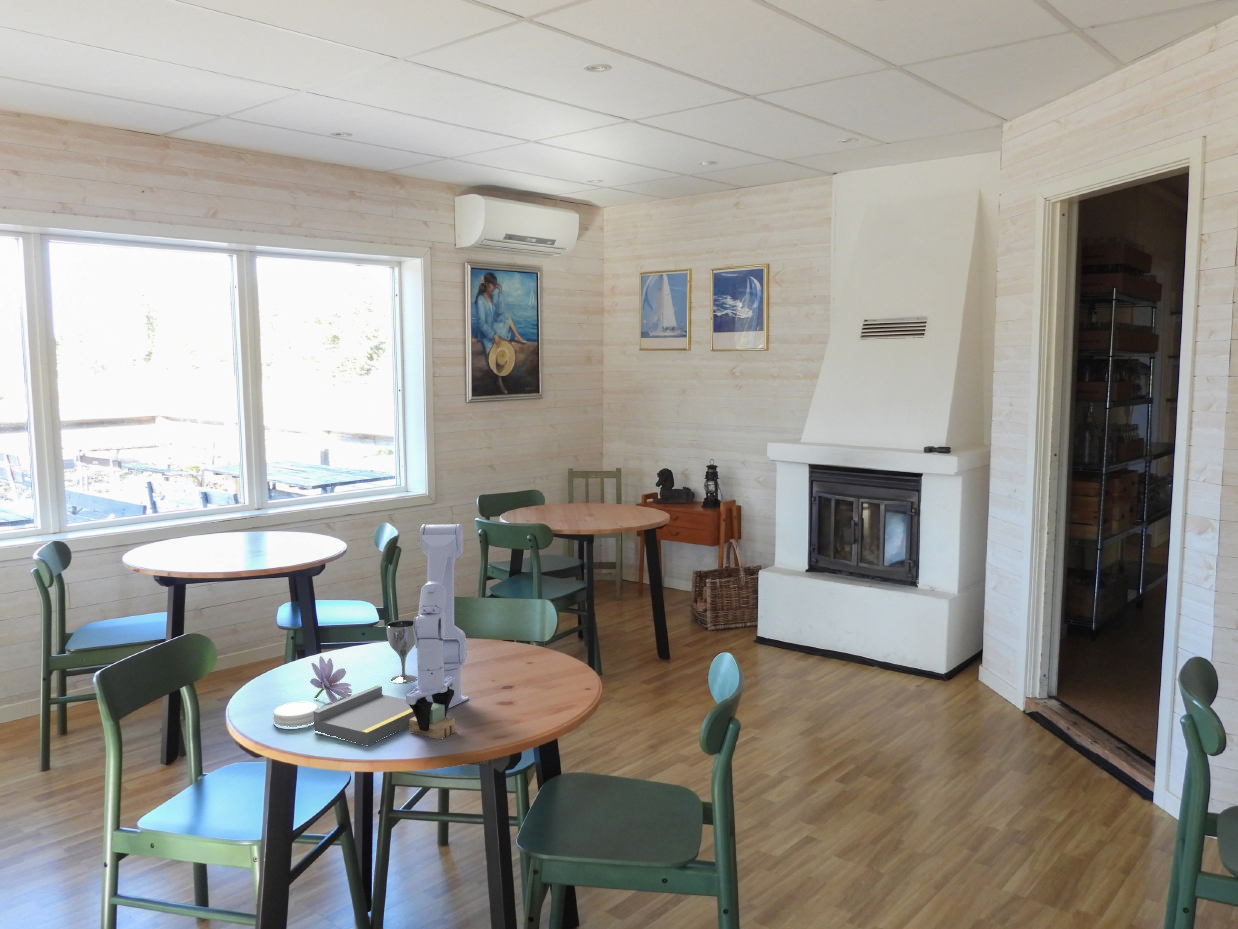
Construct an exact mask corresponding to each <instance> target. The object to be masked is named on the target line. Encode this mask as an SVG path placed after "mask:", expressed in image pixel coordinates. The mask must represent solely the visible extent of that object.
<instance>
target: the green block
mask: <svg viewBox="0 0 1238 929" xmlns="http://www.w3.org/2000/svg"><path fill="white" fill-rule="evenodd" d="M444 718H445V705H443V704H438V703H433V704H432V707H431V711H430V719H429V723H432V724H433V723H435V722H438V721H440V720H442V719H444Z"/></svg>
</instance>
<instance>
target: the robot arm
mask: <svg viewBox="0 0 1238 929" xmlns="http://www.w3.org/2000/svg"><path fill="white" fill-rule="evenodd" d="M418 535H419V537H418V538H419V547H420V549H421V550H422V554H423V555H424V556H425V557H427V562H426V563H427V568H426V583H425V584H423V586H422V587H420V595H419V596H420V597H419V601H418V602H419V603H418V611H417V616H414V619H413V620H414V624H413V632H414V638H415V645H414V647H415V649H416V656H417V659H416V660H417V663H416V664H417V678H418V679H417V686H416V687H415V688H414V689H413V690H411V691H410V692H408V693H407V694H406V695H405V699H406V704H409V706H410V707H411V709H412V710H413V712H414V714H415V717H416V719H417V722H418V726H419V729H420V730H422V731H428V730H429V719H430V711H431V707H432V704H433V703H438V704H443V705H445V717H447V715H448V710H449V709H451V708H453V707H455V706H457V705H459V704H461V703H462V702H463V703H464V702H466V701H468V700H469V699H470V696H468V695H462V675H461V674H462V669H461V668H462V667H461V666H462V665H465V663H466V662H467V656H468V655H467V654H468V652H467V650H468V648H467V638H466V636H467V634H466V633H465V631H464V630H462V629H460V628H459V626H456V625H455V565H456V561H457V560H456V559H458V558H460V557H463V553H464V528H463V525H462V524H461V523H457V524H456V523H455V524H449V523H448V524H444V523H443V524H426V523H423V524H422V525H421V526H420V528H419V534H418Z"/></svg>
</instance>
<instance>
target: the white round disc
mask: <svg viewBox="0 0 1238 929" xmlns="http://www.w3.org/2000/svg"><path fill="white" fill-rule="evenodd" d="M318 709H320V707H319V705H318V704H317V703H315V702H312V701H295V702H287V703H285V704H281V705H279V706H278V707H276V708H274V710H273V713H272V715H273V718H272V719H273V723H274V722H275V724H278V725H280V726H287V727H288V726H289V727H297V726H302V725H308V724H311V723H313V722H314V711H316V710H318Z"/></svg>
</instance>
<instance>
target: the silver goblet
mask: <svg viewBox="0 0 1238 929" xmlns="http://www.w3.org/2000/svg"><path fill="white" fill-rule="evenodd" d="M413 624H414V619H398V620H392V621H389V622H388V623H387V624H386V635H387V640H388V643H389V644H388V645H389V646H390V648H392V650H393V651H394V652H395V653H396V654H397V655H398V656H399V659H400V663H401V674H400V676H399V675H395V676H393V677H391V678H392V679H391V678H390V679H391V681H393V682H397V683H405V684H408V683H407V682H411V681H414V682H416V681H418V679H416V678H418V676H417V675H414V674H406V659H407V656H408V654H409V653H410V652H411V651H412V649H414V647H415V638H414V632H413ZM413 675H414V676H413ZM415 680H416V681H415ZM411 683H412V682H411Z"/></svg>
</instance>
